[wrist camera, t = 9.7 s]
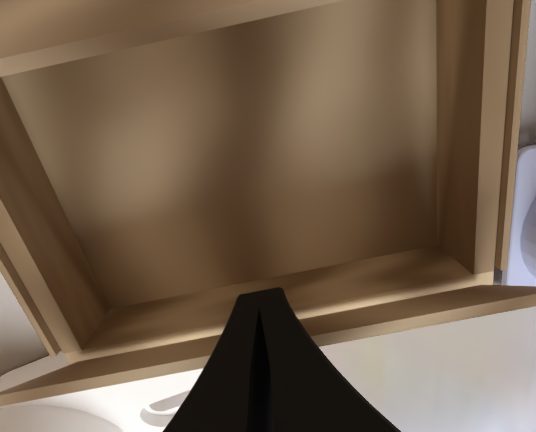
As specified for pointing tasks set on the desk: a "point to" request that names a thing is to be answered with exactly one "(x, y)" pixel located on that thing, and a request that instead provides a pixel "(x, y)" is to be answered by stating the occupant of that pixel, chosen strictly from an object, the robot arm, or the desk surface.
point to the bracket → (95, 403)
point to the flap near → (115, 25)
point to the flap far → (318, 327)
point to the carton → (261, 170)
